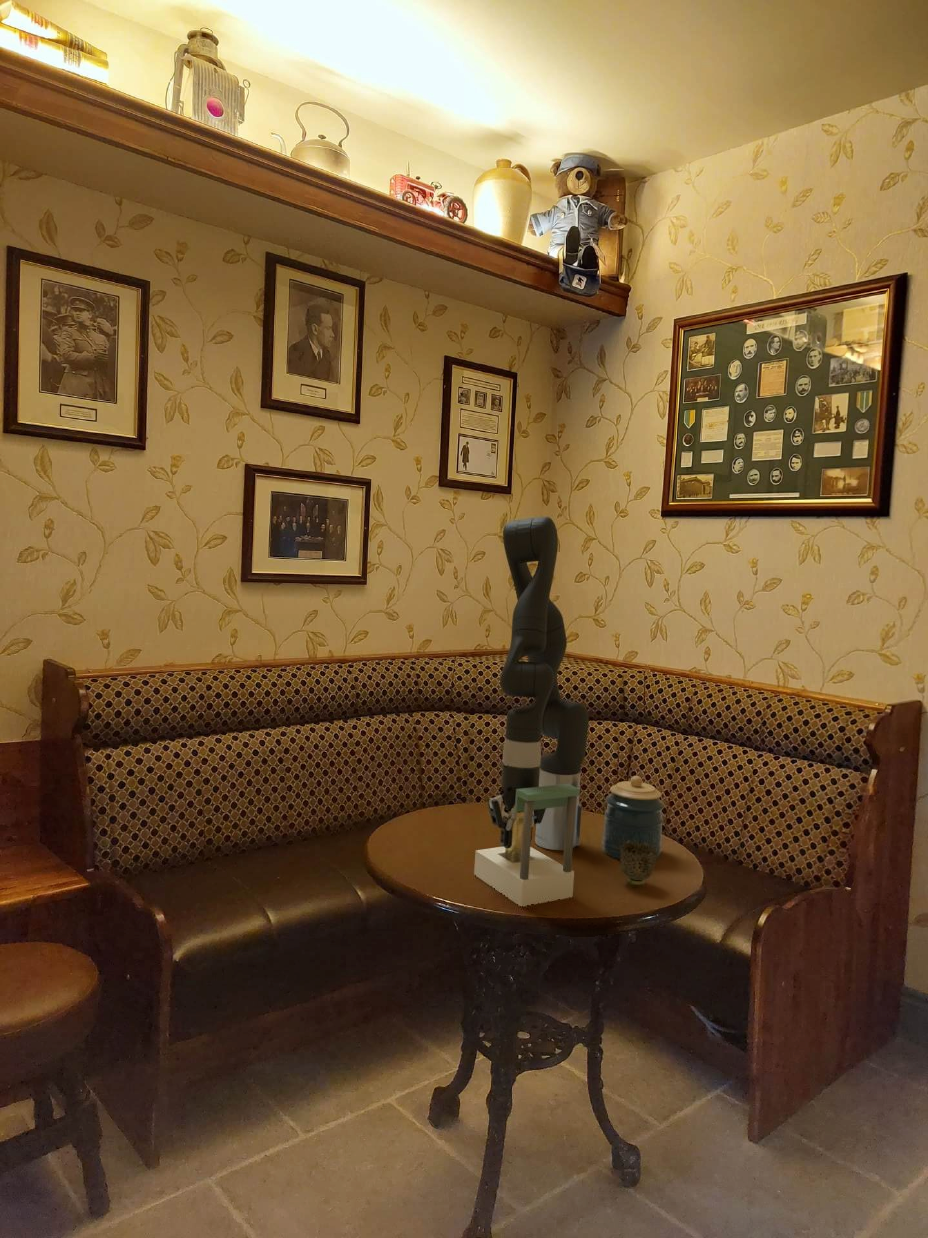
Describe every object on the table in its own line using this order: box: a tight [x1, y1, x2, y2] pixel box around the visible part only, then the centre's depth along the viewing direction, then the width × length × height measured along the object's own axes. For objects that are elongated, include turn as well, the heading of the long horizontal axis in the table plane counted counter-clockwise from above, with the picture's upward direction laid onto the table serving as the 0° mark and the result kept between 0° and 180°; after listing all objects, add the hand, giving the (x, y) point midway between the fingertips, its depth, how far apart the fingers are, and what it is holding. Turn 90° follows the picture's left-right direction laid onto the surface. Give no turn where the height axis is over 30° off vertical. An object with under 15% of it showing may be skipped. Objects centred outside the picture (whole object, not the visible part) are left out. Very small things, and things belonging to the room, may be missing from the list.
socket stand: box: [473, 784, 581, 908], centre depth 166 cm, size 12×17×21 cm
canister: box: [601, 775, 666, 861], centre depth 188 cm, size 13×13×18 cm
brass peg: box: [505, 811, 524, 863], centre depth 168 cm, size 4×4×10 cm
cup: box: [619, 841, 657, 888], centre depth 170 cm, size 8×7×8 cm
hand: (515, 845), depth 168 cm, fingers closed on brass peg, 4 cm apart
